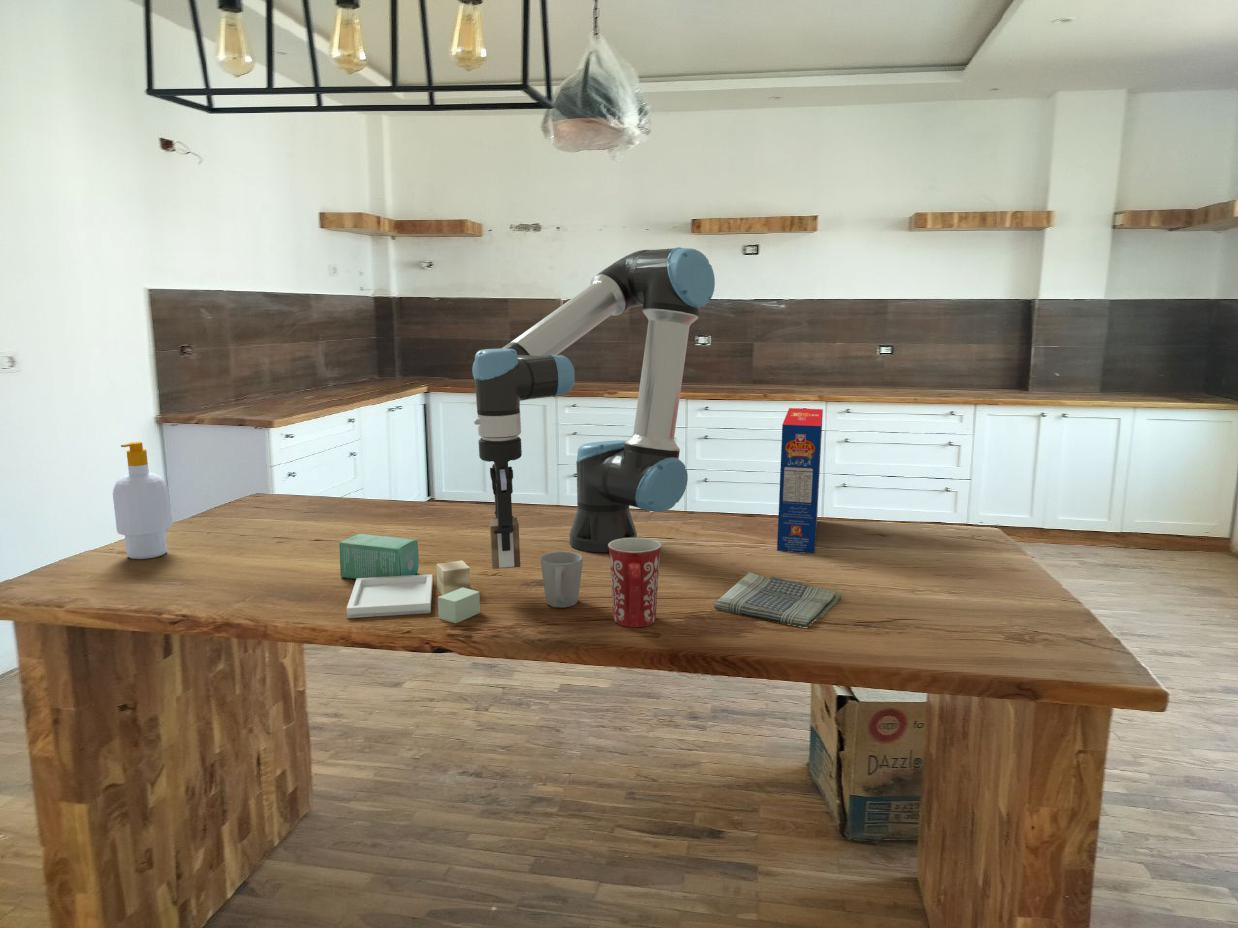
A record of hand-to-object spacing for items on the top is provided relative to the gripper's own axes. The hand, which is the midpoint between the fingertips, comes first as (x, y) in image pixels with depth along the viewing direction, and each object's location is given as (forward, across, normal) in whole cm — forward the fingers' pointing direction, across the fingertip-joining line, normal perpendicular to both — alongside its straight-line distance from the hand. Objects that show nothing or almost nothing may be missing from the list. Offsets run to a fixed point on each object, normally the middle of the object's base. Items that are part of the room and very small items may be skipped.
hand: (505, 561), depth 156 cm
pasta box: (+9, -30, +69) cm, 76 cm away
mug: (+7, +18, +20) cm, 28 cm away
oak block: (+7, -4, -10) cm, 13 cm away
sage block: (+7, +8, -9) cm, 14 cm away
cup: (+7, +6, +9) cm, 13 cm away
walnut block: (0, 0, 0) cm, 0 cm away
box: (+7, -16, -24) cm, 30 cm away
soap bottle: (+6, -38, -74) cm, 83 cm away
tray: (+6, -2, -21) cm, 22 cm away
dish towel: (+9, +12, +48) cm, 51 cm away
